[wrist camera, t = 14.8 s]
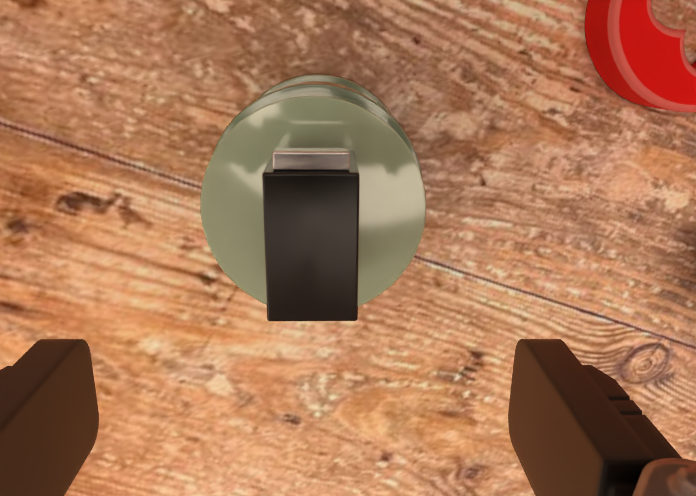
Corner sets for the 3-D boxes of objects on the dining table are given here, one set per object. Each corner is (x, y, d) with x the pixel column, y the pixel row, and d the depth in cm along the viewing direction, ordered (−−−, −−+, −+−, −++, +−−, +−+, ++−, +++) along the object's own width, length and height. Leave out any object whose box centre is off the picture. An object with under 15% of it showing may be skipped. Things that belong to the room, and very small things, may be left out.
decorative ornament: (802, -38, 31) (852, -48, 28) (700, 134, 34) (736, 142, 31) (646, -122, 30) (681, -141, 27) (552, 65, 33) (575, 66, 30)
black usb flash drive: (274, 133, 22) (261, 153, 18) (354, 134, 23) (360, 153, 18) (278, 274, 24) (267, 321, 20) (352, 274, 24) (357, 321, 20)
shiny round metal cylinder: (229, 72, 32) (180, 83, 22) (407, 74, 33) (443, 85, 22) (237, 243, 35) (198, 324, 25) (400, 243, 36) (430, 323, 25)
